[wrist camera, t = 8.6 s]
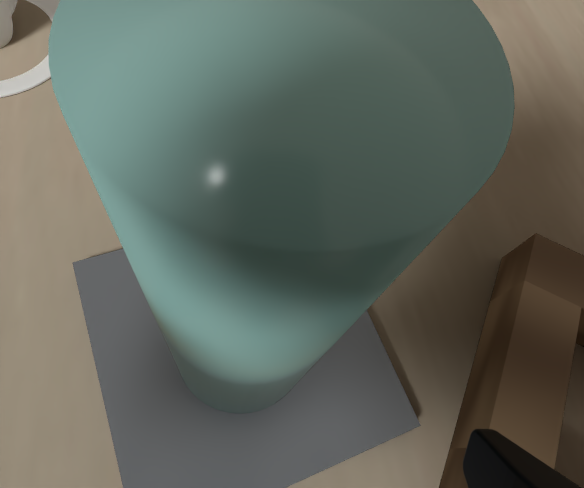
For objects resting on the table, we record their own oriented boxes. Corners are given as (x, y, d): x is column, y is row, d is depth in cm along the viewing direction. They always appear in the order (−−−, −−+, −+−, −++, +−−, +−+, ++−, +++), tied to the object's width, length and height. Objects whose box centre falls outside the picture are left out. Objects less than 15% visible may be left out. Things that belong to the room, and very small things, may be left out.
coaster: (414, 426, 17) (420, 425, 17) (141, 552, 14) (138, 555, 14) (311, 203, 21) (313, 196, 20) (77, 268, 18) (72, 262, 17)
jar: (332, 346, 17) (589, 73, 5) (238, 445, 15) (304, 375, 3) (245, 259, 18) (292, -135, 6) (146, 342, 16) (-58, 4, 4)
